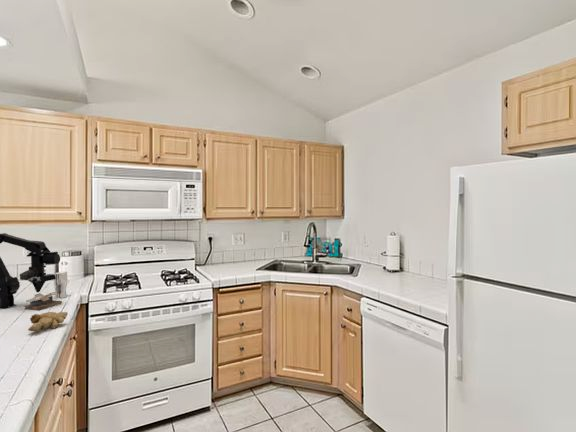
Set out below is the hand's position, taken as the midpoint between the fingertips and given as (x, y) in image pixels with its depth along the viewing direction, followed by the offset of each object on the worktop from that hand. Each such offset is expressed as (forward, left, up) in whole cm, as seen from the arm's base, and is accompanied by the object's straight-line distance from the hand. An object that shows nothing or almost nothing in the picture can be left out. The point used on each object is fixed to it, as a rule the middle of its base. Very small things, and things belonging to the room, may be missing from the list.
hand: (38, 292), depth 182 cm
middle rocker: (+3, 0, -2) cm, 4 cm away
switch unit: (+4, 0, -8) cm, 9 cm away
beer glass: (-4, +17, -8) cm, 19 cm away
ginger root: (+36, -24, -8) cm, 44 cm away
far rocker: (+3, +5, -2) cm, 6 cm away
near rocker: (+3, -4, -2) cm, 6 cm away
